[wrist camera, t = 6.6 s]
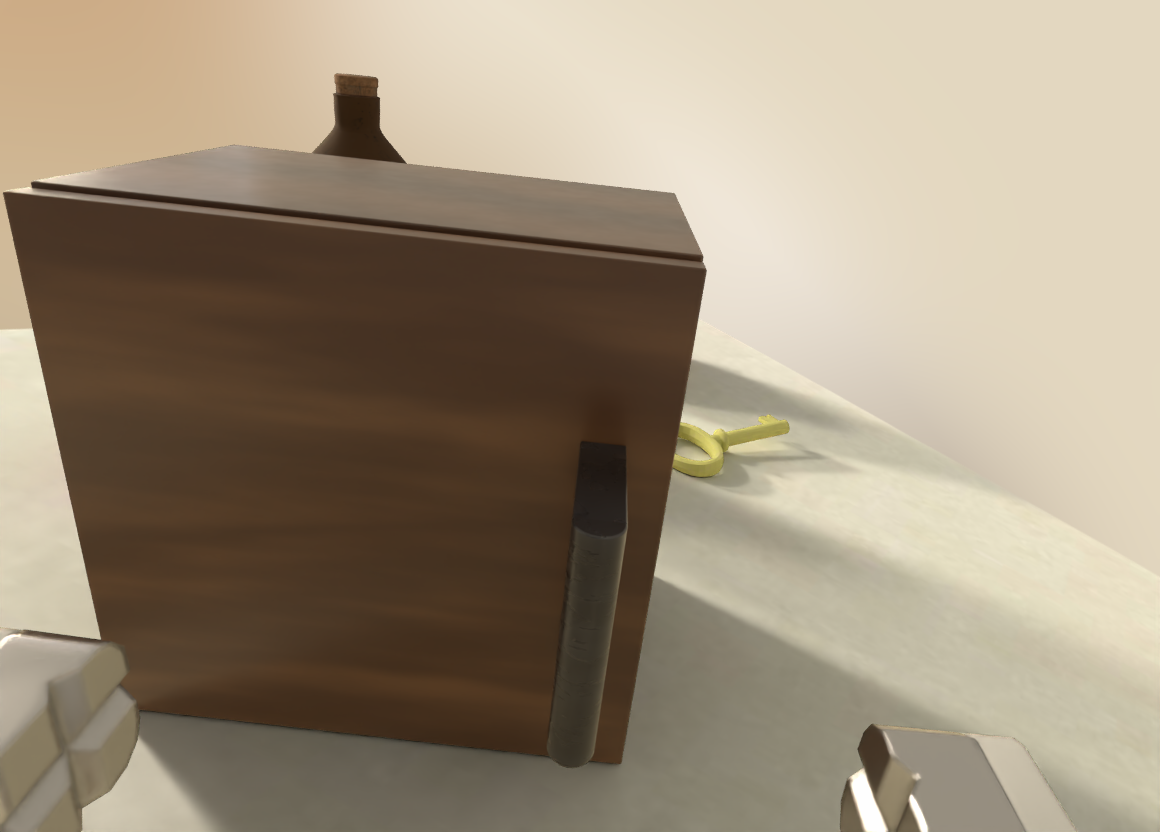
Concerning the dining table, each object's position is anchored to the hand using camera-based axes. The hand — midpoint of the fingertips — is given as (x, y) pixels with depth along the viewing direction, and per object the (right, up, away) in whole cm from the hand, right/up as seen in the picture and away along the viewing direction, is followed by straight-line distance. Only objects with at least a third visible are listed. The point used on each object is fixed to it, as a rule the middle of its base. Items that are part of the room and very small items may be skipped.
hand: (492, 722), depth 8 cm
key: (+12, 0, +53) cm, 54 cm away
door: (-8, -11, +22) cm, 26 cm away
